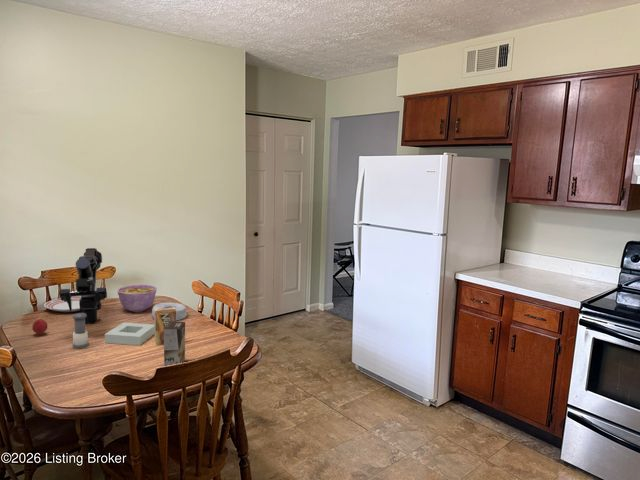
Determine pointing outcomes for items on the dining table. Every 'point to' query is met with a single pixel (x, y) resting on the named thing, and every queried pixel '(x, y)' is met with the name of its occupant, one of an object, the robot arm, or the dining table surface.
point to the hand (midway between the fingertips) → (82, 310)
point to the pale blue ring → (179, 308)
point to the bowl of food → (137, 297)
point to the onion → (39, 326)
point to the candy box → (163, 322)
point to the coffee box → (174, 343)
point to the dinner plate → (64, 305)
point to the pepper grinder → (80, 331)
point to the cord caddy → (130, 334)
